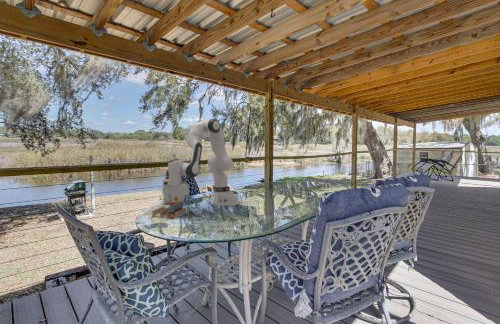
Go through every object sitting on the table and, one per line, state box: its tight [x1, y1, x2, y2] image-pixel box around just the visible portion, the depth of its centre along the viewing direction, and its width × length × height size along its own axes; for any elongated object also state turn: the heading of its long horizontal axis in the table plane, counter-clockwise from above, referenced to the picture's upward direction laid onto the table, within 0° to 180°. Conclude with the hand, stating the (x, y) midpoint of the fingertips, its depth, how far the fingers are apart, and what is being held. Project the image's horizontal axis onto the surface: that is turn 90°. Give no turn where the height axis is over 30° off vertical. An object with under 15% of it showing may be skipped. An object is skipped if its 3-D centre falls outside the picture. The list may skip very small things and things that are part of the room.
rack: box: [151, 205, 188, 220], centre depth 203 cm, size 19×17×4 cm
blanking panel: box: [169, 201, 184, 216], centre depth 201 cm, size 3×12×7 cm, turn 163°
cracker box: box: [162, 178, 183, 205], centre depth 236 cm, size 14×6×21 cm, turn 84°
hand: (176, 200), depth 201 cm, fingers open, 8 cm apart
